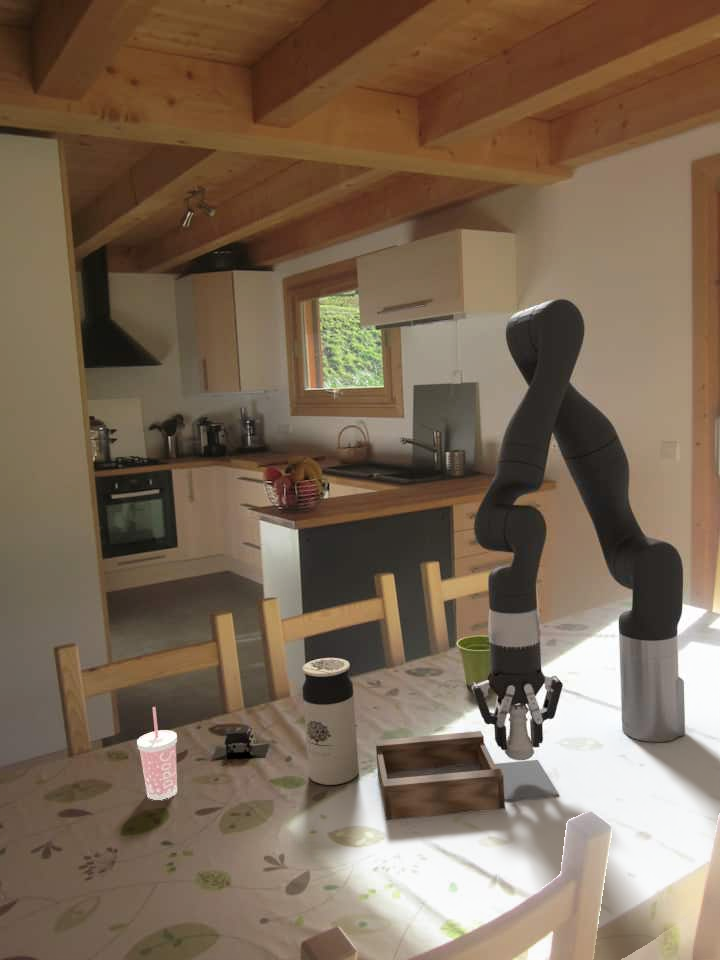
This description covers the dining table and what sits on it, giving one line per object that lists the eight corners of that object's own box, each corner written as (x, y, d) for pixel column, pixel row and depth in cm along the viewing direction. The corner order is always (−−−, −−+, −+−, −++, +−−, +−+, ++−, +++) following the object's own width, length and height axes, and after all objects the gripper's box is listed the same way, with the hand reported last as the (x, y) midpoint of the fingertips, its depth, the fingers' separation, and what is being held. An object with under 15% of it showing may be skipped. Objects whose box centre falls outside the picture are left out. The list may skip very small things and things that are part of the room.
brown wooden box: (482, 760, 126) (480, 731, 125) (505, 808, 111) (503, 775, 111) (377, 770, 125) (375, 740, 125) (386, 820, 110) (383, 786, 110)
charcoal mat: (537, 761, 124) (537, 759, 124) (559, 796, 113) (559, 794, 113) (488, 766, 124) (488, 764, 124) (505, 801, 113) (504, 799, 113)
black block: (278, 743, 139) (276, 719, 138) (273, 763, 131) (271, 737, 131) (209, 748, 139) (206, 723, 138) (200, 767, 132) (197, 741, 131)
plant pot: (512, 679, 161) (510, 638, 160) (494, 695, 153) (492, 652, 152) (470, 673, 166) (468, 633, 165) (450, 688, 158) (448, 646, 157)
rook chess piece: (534, 761, 116) (532, 709, 115) (504, 760, 117) (501, 709, 116) (534, 748, 120) (532, 698, 119) (504, 747, 121) (502, 697, 120)
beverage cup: (146, 807, 118) (138, 718, 117) (138, 790, 124) (129, 705, 122) (186, 795, 121) (178, 708, 120) (176, 779, 126) (168, 696, 125)
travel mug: (335, 758, 130) (327, 653, 129) (369, 772, 125) (361, 663, 123) (298, 776, 125) (290, 667, 123) (332, 792, 119) (324, 678, 117)
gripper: (554, 626, 121) (557, 732, 122) (462, 633, 120) (467, 739, 122) (569, 641, 113) (573, 754, 115) (471, 648, 113) (477, 761, 114)
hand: (518, 746), depth 118 cm, fingers closed on rook chess piece, 4 cm apart
